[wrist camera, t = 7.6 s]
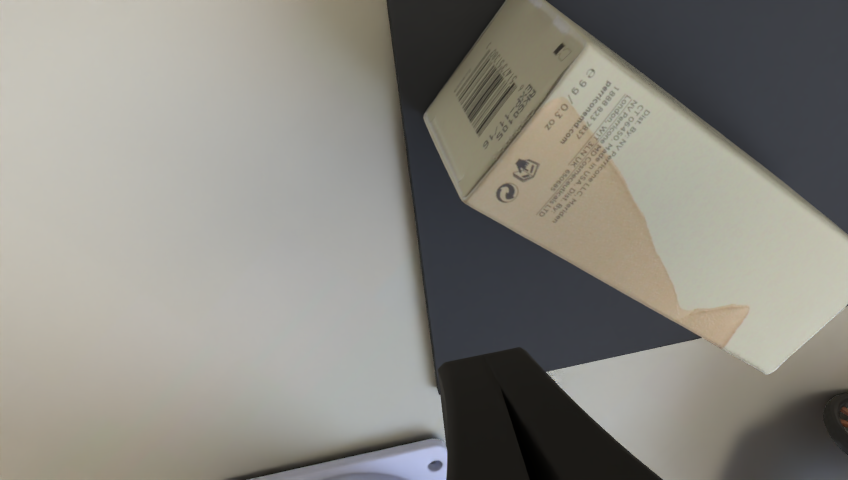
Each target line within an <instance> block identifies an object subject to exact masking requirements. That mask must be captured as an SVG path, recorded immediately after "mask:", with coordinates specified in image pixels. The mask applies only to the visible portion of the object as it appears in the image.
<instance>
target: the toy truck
mask: <svg viewBox="0 0 848 480" xmlns="http://www.w3.org/2000/svg"><path fill="white" fill-rule="evenodd" d="M847 408H848V393H843V394H839V395H837V396H835V397H833V398H832V399H831V400H830V401H829V402H828V403H827V404H826V406H825V409H824V415H823V418H824V423H825V426H826V429H827V431H828V433H829V435H830V436H831V438H832V439H833V441H834V442H835V443H836V444H837V446H838V447H839V448H840V449H841V450H842V451H843V452H844V453H846V454H847V455H848V432H847V431H846V430H845V429H844V427H846V428H848V421H846V420H843V419H840V415H839V414H840V412H842V413H843V414H845V415H847V416H848V409H847Z"/></svg>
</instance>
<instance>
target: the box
mask: <svg viewBox="0 0 848 480" xmlns="http://www.w3.org/2000/svg"><path fill="white" fill-rule="evenodd" d="M423 118H424V121H425V124H426V126H427V128H428V131H429V133H430V135H431V138H432V140H433V142H434V144H435V146H436V149H437V151H438V153H439V155H440V157H441V160H442V162H443V164H444V166H445V168H446V170H447V172H448V174H449V176H450V178H451V180H452V182H453V185H454V187H455V189H456V191H457V193H458V195H459V197H460V199H461V200H462V201H463V202H464V203H465V204H466V205H468V206H470V207H471V208H473V209H475V210H477V211H478V212H480V213H482V214H484V215H486V216H487V217H489V218H491V219H493V220H494V221H496V222H498V223H500V224H502V225H504V226H505V227H507V228H509V229H510V230H512V231H514V232H516V233H517V234H519V235H521V236H523V237H524V238H526V239H528V240H530V241H532V242H534V243H535V244H537V245H539V246H541V247H543V248H545V249H546V250H548V251H550V252H551V253H553V254H555V255H557V256H558V257H560V258H562V259H564V260H566V261H568V262H569V263H571V264H573V265H575V266H576V267H578V268H580V269H581V270H583V271H585V272H587V273H588V274H590V275H592V276H594V277H595V278H597V279H599V280H601V281H602V282H604V283H606V284H608V285H609V286H611V287H613V288H615V289H616V290H618V291H620V292H622V293H624V294H625V295H627V296H629V297H631V298H632V299H634V300H636V301H638V302H640V303H642V304H643V305H645V306H647V307H648V308H650V309H652V310H654V311H655V312H657V313H659V314H661V315H663V316H664V317H666V318H668V319H670V320H672V321H674V322H675V323H677V324H679V325H681V326H682V327H684V328H686V329H688V330H689V331H691V332H693V333H695V334H696V335H698V336H700V337H702V338H703V339H705V340H707V341H709V342H711V343H712V344H714V345H716V346H718V347H719V348H721V349H723V350H724V351H726V352H728V353H730V354H731V355H733V356H735V357H737V358H738V359H740V360H742V361H744V362H745V363H747V364H749V365H751V366H752V367H754V368H756V369H757V370H759V371H761V372H762V373H764V374H771V373H772V372H774V371H775V370H776V369H777V368H778V367H779V366H780V365H781V364H782V363H783V362H784V361H786V360H787V359H788V358H789V357H790V356H791V355H792V354H793V353H795V352H796V351H797V350H798V349H799V348H801V347H802V346H803V345H804V344H805V343H806V342H807V341H808V340H809V339H810V338H811V337H813V336H814V335H815V334H816V333H817V332H819V331H820V330H821V329H822V328H823V327H824V326H825V325H826V324H827V323H828V322H829V321H830V320H831V319H832V318H834V317H835V316H836V315H837V314H838V313H839V312H840V311H841V310H842V309H843V308H845V307H846V306H847V305H848V234H847V233H845V232H844V231H843V230H842V229H841V228H840V227H838V226H837V225H836V224H835V223H834V222H832V221H831V220H830V219H829V218H827V217H826V216H825V215H824V214H822V213H821V212H820V211H819V210H817V209H816V208H815V207H814V206H812V205H811V204H810V203H809V202H807V201H806V200H805V199H804V198H803V197H801V196H800V195H799V194H798V193H796V192H795V191H794V190H793V189H791V188H790V187H789V186H788V185H787V184H785V183H784V182H783V181H782V180H780V179H779V178H778V177H777V176H775V175H774V174H773V173H771V172H770V171H769V170H768V169H766V168H765V167H764V166H762V165H761V164H760V163H759V162H757V161H756V160H755V159H753V158H752V157H751V156H749V155H748V154H747V153H746V152H744V151H743V150H742V149H740V148H739V147H738V146H736V145H735V144H734V143H732V142H731V141H730V140H729V139H727V138H726V137H725V136H723V135H722V134H721V133H720V132H718V131H717V130H716V129H714V128H713V127H712V126H710V125H709V124H708V123H706V122H705V121H704V120H703V119H701V118H700V117H699V116H697V115H696V114H695V113H693V112H692V111H691V110H690V109H688V108H687V107H686V106H684V105H683V104H682V103H681V102H679V101H678V100H677V99H675V98H674V97H673V96H671V95H670V94H669V93H668V92H666V91H665V90H664V89H662V88H661V87H660V86H658V85H657V84H656V83H655V82H653V81H652V80H651V79H649V78H648V77H647V76H645V75H644V74H643V73H641V72H640V71H639V70H637V69H636V68H635V67H633V66H632V65H631V64H629V63H628V62H627V61H625V60H624V59H623V58H621V57H620V56H619V55H617V54H616V53H615V52H613V51H612V50H611V49H609V48H608V47H607V46H605V45H604V44H603V43H601V42H600V41H599V40H598V39H596V38H595V37H594V36H592V35H591V34H590V33H588V32H587V31H586V30H584V29H583V28H581V27H580V26H579V25H577V24H576V23H575V22H573V21H572V20H571V19H569V18H568V17H567V16H565V15H564V14H563V13H561V12H560V11H559V10H557V9H556V8H555V7H553V6H552V5H551V4H550V3H548V2H547V1H546V0H506V1H505V2H504V4H503V5H502V6H501V8H500V9H499V11H498V12H497V13H496V15H495V16H494V18H493V19H492V20H491V22H490V23H489V24H488V26H487V27H486V28H485V30H484V31H483V33H482V34H481V35H480V37H479V38H478V40H477V41H476V42H475V44H474V45H473V47H472V48H471V50H470V51H469V52H468V54H467V55H466V56H465V58H464V59H463V61H462V62H461V63H460V65H459V66H458V67H457V69H456V70H455V72H454V73H453V74H452V76H451V77H450V79H449V80H448V81H447V83H446V84H445V86H444V87H443V88H442V89H441V91H440V92H439V93H438V95H437V96H436V98H435V99H434V101H433V102H432V103H431V105H430V106H429V107H428V109H427V110H426V112H425V113H424V116H423Z"/></svg>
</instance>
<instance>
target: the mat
mask: <svg viewBox="0 0 848 480" xmlns="http://www.w3.org/2000/svg"><path fill="white" fill-rule="evenodd" d="M505 1H506V0H387V6H388V14H389V21H390V29H391V37H392V45H393V52H394V60H395V68H396V75H397V83H398V91H399V98H400V106H401V114H402V121H403V129H404V137H405V144H406V152H407V160H408V167H409V175H410V183H411V190H412V198H413V206H414V213H415V221H416V229H417V236H418V244H419V252H420V259H421V267H422V275H423V282H424V290H425V298H426V305H427V313H428V321H429V328H430V336H431V344H432V351H433V359H434V367H435V375H436V382H437V390H438V393H439V395H441V394H440V385H439V377H438V369H439V368H440V366H441V365H442V364H443V363H444V362H449V361H454V360H458V359H463V358H468V357H473V356H478V355H483V354H488V353H493V352H498V351H502V350H507V349H512V348H517V347H521V348H523V349H524V350H526V351H527V352H528V353H529V354H530V355H531V357H532V358H533V359H534V360H535V361H536V362H537V363H538V364H539V365H540V366H541V368H542V369H543V370H544V371H545V372H547V371H551V370H556V369H561V368H565V367H570V366H574V365H579V364H584V363H588V362H593V361H598V360H602V359H607V358H611V357H616V356H621V355H625V354H630V353H634V352H639V351H644V350H648V349H653V348H657V347H662V346H667V345H671V344H676V343H681V342H685V341H690V340H694V339H699V338H702V337H700V336H698V335H696V334H695V333H693V332H691V331H689V330H688V329H686V328H684V327H682V326H681V325H679V324H677V323H675V322H674V321H672V320H670V319H668V318H666V317H664V316H663V315H661V314H659V313H657V312H655V311H654V310H652V309H650V308H648V307H647V306H645V305H643V304H642V303H640V302H638V301H636V300H634V299H632V298H631V297H629V296H627V295H625V294H624V293H622V292H620V291H618V290H616V289H615V288H613V287H611V286H609V285H608V284H606V283H604V282H602V281H601V280H599V279H597V278H595V277H594V276H592V275H590V274H588V273H587V272H585V271H583V270H581V269H580V268H578V267H576V266H575V265H573V264H571V263H569V262H568V261H566V260H564V259H562V258H560V257H558V256H557V255H555V254H553V253H551V252H550V251H548V250H546V249H545V248H543V247H541V246H539V245H537V244H535V243H534V242H532V241H530V240H528V239H526V238H524V237H523V236H521V235H519V234H517V233H516V232H514V231H512V230H510V229H509V228H507V227H505V226H504V225H502V224H500V223H498V222H496V221H494V220H493V219H491V218H489V217H487V216H486V215H484V214H482V213H480V212H478V211H477V210H475V209H473V208H471V207H470V206H468V205H466V204H465V203H464V202H463V201H462V200H461V199H460V197H459V195H458V193H457V191H456V189H455V187H454V185H453V182H452V180H451V178H450V176H449V174H448V172H447V170H446V168H445V166H444V164H443V162H442V160H441V157H440V155H439V153H438V151H437V149H436V146H435V144H434V142H433V140H432V138H431V135H430V133H429V131H428V128H427V126H426V124H425V121H424V118H423V116H424V113H425V112H426V110H427V109H428V107H429V106H430V105H431V103H432V102H433V101H434V99H435V98H436V96H437V95H438V93H439V92H440V91H441V89H442V88H443V87H444V86H445V84H446V83H447V81H448V80H449V79H450V77H451V76H452V74H453V73H454V72H455V70H456V69H457V67H458V66H459V65H460V63H461V62H462V61H463V59H464V58H465V56H466V55H467V54H468V52H469V51H470V50H471V48H472V47H473V45H474V44H475V42H476V41H477V40H478V38H479V37H480V35H481V34H482V33H483V31H484V30H485V28H486V27H487V26H488V24H489V23H490V22H491V20H492V19H493V18H494V16H495V15H496V13H497V12H498V11H499V9H500V8H501V6H502V5H503V4H504V2H505ZM546 1H547V2H548V3H550V4H551V5H552V6H553V7H555V8H556V9H557V10H559V11H560V12H561V13H563V14H564V15H565V16H567V17H568V18H569V19H571V20H572V21H573V22H575V23H576V24H577V25H579V26H580V27H581V28H583V29H584V30H586V31H587V32H588V33H590V34H591V35H592V36H594V37H595V38H596V39H598V40H599V41H600V42H601V43H603V44H604V45H605V46H607V47H608V48H609V49H611V50H612V51H613V52H615V53H616V54H617V55H619V56H620V57H621V58H623V59H624V60H625V61H627V62H628V63H629V64H631V65H632V66H633V67H635V68H636V69H637V70H639V71H640V72H641V73H643V74H644V75H645V76H647V77H648V78H649V79H651V80H652V81H653V82H655V83H656V84H657V85H658V86H660V87H661V88H662V89H664V90H665V91H666V92H668V93H669V94H670V95H671V96H673V97H674V98H675V99H677V100H678V101H679V102H681V103H682V104H683V105H684V106H686V107H687V108H688V109H690V110H691V111H692V112H693V113H695V114H696V115H697V116H699V117H700V118H701V119H703V120H704V121H705V122H706V123H708V124H709V125H710V126H712V127H713V128H714V129H716V130H717V131H718V132H720V133H721V134H722V135H723V136H725V137H726V138H727V139H729V140H730V141H731V142H732V143H734V144H735V145H736V146H738V147H739V148H740V149H742V150H743V151H744V152H746V153H747V154H748V155H749V156H751V157H752V158H753V159H755V160H756V161H757V162H759V163H760V164H761V165H762V166H764V167H765V168H766V169H768V170H769V171H770V172H771V173H773V174H774V175H775V176H777V177H778V178H779V179H780V180H782V181H783V182H784V183H785V184H787V185H788V186H789V187H790V188H791V189H793V190H794V191H795V192H796V193H798V194H799V195H800V196H801V197H803V198H804V199H805V200H806V201H807V202H809V203H810V204H811V205H812V206H814V207H815V208H816V209H817V210H819V211H820V212H821V213H822V214H824V215H825V216H826V217H827V218H829V219H830V220H831V221H832V222H834V223H835V224H836V225H837V226H838V227H840V228H841V229H842V230H843V231H844V232H845V233H847V234H848V0H546ZM847 306H848V305H847Z"/></svg>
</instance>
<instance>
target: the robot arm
mask: <svg viewBox="0 0 848 480" xmlns="http://www.w3.org/2000/svg"><path fill="white" fill-rule="evenodd" d="M438 377H439V385H440V394H441V403H442V412H443V421H444V429H445V438H446V446H445V443H444V442H443V441H442V440H440V439H428V440H423V441H419V442H414V443H410V444H405V445H401V446H396V447H392V448H387V449H383V450H378V451H374V452H369V453H365V454H360V455H356V456H351V457H347V458H342V459H338V460H333V461H329V462H324V463H320V464H315V465H311V466H307V467H302V468H298V469H293V470H289V471H284V472H280V473H275V474H271V475H266V476H262V477H257V478H253V479H248V480H663V479H661V478H660V477H659V476H658V475H657V474H655V473H654V472H653V471H652V470H650V469H649V468H648V467H647V466H646V465H644V464H643V463H642V462H641V461H639V460H638V459H637V458H636V457H635V456H633V455H632V454H631V453H630V452H629V451H628V450H626V449H625V448H624V447H623V446H622V445H621V444H620V443H618V442H617V441H616V440H615V439H614V438H613V437H612V436H611V435H610V434H609V433H607V432H606V431H605V430H604V429H603V428H602V427H601V426H600V425H599V424H598V423H596V422H595V421H594V420H593V419H592V418H591V417H590V416H589V415H588V414H587V413H586V412H585V411H584V410H583V409H582V408H580V407H579V406H578V405H577V404H576V403H575V402H574V401H573V400H572V399H571V398H570V397H569V396H568V395H567V394H566V393H565V392H564V391H563V390H562V389H561V388H560V387H559V386H558V385H557V383H556V382H555V381H554V380H553V379H552V378H551V377H550V376H549V375H548V374H547V373H546V372H545V371H544V370H543V369H542V368H541V366H540V365H539V364H538V363H537V362H536V361H535V360H534V359H533V358H532V357H531V355H530V354H529V353H528V352H527V351H526V350H524V349H523V348H521V347H517V348H512V349H507V350H502V351H498V352H493V353H488V354H483V355H478V356H473V357H468V358H463V359H458V360H454V361H449V362H444V363H443V364H442V365H441V366H440V368H439V369H438ZM446 447H447V449H446ZM433 461H436V462H434V463H431V462H433Z"/></svg>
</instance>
